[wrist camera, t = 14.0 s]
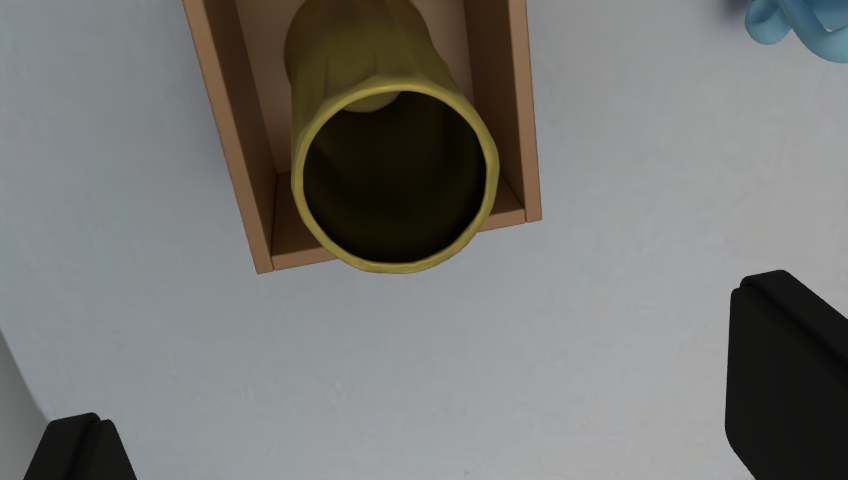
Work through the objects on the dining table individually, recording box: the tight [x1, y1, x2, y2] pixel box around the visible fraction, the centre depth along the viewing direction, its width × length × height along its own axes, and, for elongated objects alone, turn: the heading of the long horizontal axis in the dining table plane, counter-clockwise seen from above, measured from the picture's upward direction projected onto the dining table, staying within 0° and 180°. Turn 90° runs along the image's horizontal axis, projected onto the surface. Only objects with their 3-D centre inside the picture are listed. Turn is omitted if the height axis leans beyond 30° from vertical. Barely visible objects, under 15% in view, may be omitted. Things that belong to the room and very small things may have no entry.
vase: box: [284, 0, 500, 274], centre depth 25 cm, size 6×6×14 cm
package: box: [182, 0, 542, 274], centre depth 28 cm, size 10×10×8 cm
